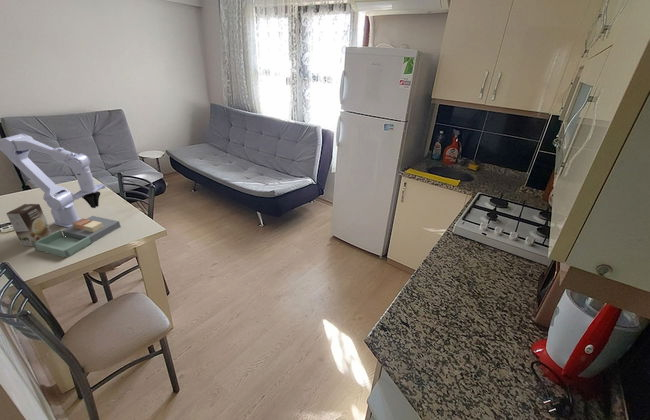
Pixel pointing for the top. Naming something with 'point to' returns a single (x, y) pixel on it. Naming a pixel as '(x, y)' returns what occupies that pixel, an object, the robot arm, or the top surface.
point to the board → (81, 234)
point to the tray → (61, 244)
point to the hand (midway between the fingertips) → (94, 206)
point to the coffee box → (29, 223)
